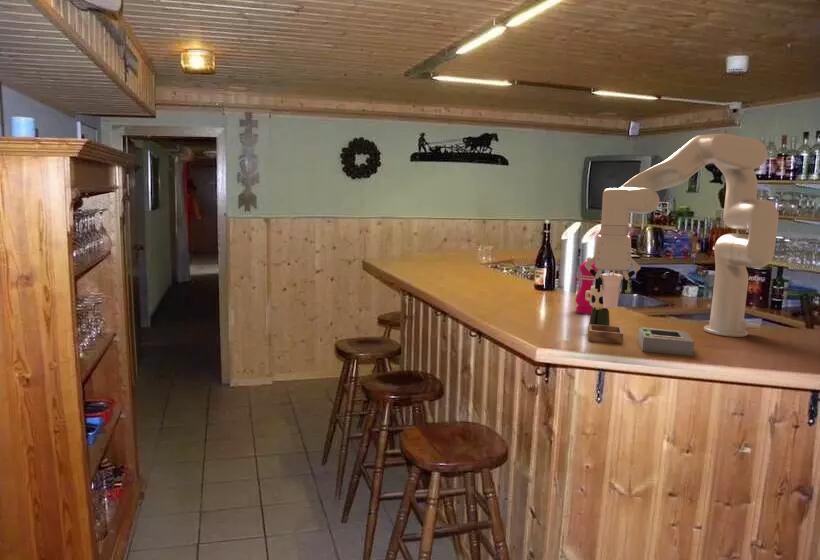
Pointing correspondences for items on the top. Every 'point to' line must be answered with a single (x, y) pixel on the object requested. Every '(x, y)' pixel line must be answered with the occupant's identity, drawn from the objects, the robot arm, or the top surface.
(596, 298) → the character mug
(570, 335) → the top surface
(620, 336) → the wooden tray
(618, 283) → the smoothie
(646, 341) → the box
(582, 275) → the pepper mill
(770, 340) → the top surface
